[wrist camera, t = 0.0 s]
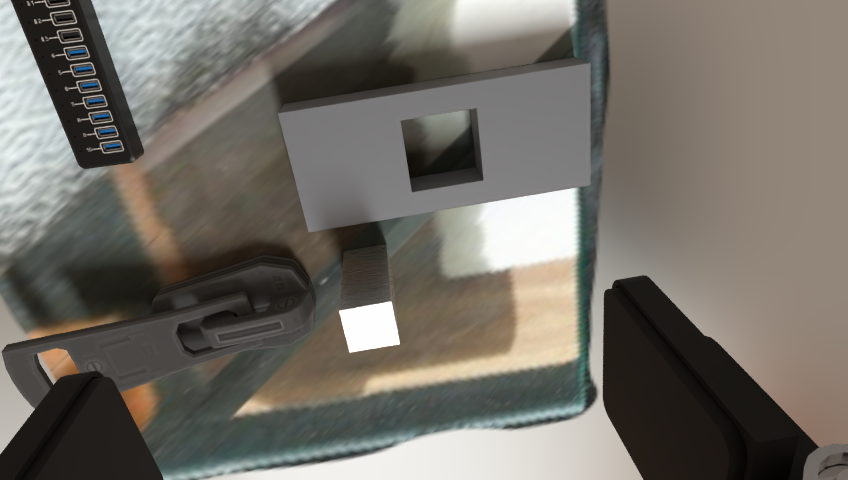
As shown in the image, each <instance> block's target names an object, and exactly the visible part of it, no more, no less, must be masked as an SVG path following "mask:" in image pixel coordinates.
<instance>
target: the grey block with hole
mask: <svg viewBox="0 0 848 480" xmlns="http://www.w3.org/2000/svg"><path fill="white" fill-rule="evenodd" d="M468 109H470V114H471V124H472V134H473V144H474V154H475V164H476V167H474V168H468V169H462V170H456V171H450V172H444V173H438V174H432V175H426V176H420V177H414V178H409V171H408V165H407V159H406V153H405V146H404V140H403V134H402V128H401V121H400V120H407V119H413V118H419V117H425V116H431V115H437V114H443V113H450V112H456V111H462V110H468ZM278 116H279V120H280V124H281V128H282V131H283V135H284V139H285V143H286V147H287V151H288V154H289V158H290V162H291V166H292V170H293V174H294V177H295V181H296V185H297V189H298V193H299V197H300V200H301V204H302V208H303V212H304V216H305V220H306V223H307V227H308V231H309V232H314V231H320V230H326V229H332V228H338V227H344V226H350V225H356V224H362V223H368V222H374V221H380V220H386V219H392V218H398V217H404V216H409V215H415V214H421V213H427V212H433V211H439V210H445V209H451V208H457V207H463V206H469V205H475V204H481V203H487V202H493V201H499V200H505V199H511V198H517V197H523V196H529V195H535V194H540V193H546V192H552V191H558V190H564V189H570V188H576V187H582V186H588V185H590V63H589V62H586V61H583V60H581V59H578V58H575V57H572V58H566V59H560V60H554V61H547V62H541V63H535V64H529V65H523V66H516V67H510V68H504V69H498V70H492V71H485V72H479V73H473V74H467V75H461V76H454V77H448V78H442V79H436V80H430V81H423V82H417V83H411V84H405V85H398V86H392V87H386V88H380V89H374V90H367V91H361V92H355V93H349V94H343V95H336V96H330V97H324V98H318V99H312V100H305V101H299V102H293V103H287V104H284V105H283V106H282V108H281V109H280V111H279V113H278Z"/></svg>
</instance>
